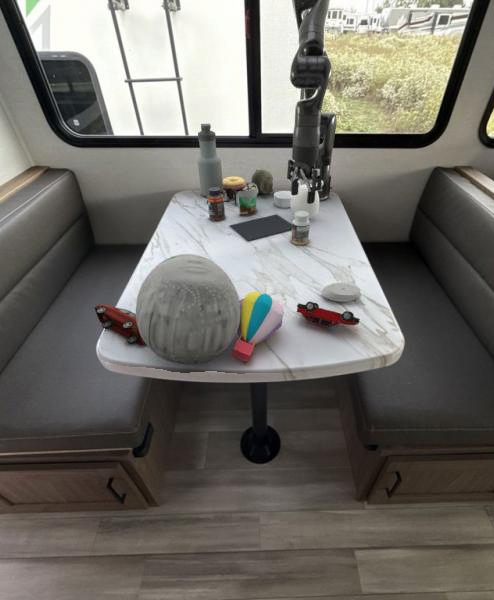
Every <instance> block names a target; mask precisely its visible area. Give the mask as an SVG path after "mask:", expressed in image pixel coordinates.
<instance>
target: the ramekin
mask: <svg viewBox="0 0 494 600" xmlns="http://www.w3.org/2000/svg"><path fill="white" fill-rule="evenodd" d="M291 198H292V195H291V190H290V191H289V190H279V191H276V192H274V193H273V199H274V205H275V206H276V207H278V208H280V209H281V208H282V209H286V208H287V209H288V208H291Z"/></svg>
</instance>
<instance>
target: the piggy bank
mask: <svg viewBox="0 0 494 600" xmlns="http://www.w3.org/2000/svg"><path fill="white" fill-rule="evenodd" d="M288 183H289V185H290V186H291V182H290V179H288ZM298 183H299V185H298V194H297V195H294V196H293V195H292V198H291V207H290V209H291V213H292V215H295V212H297V211H306V212H308V213H309V218H308V220H309V219H313V218H314V217H315V216H317V214H318V213H319V210H320V201H319V195H318V192H317V191H316V192H315V201H314V203H311V204H308V203H307V195H308V188H307V185H305V183H303V184H301V183H302V182H301V180H299V181H298ZM317 183H318V182H317ZM317 183H316V186H317ZM322 186H323V181H321V188H322ZM311 187H312V185H311Z"/></svg>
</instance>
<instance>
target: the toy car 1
mask: <svg viewBox="0 0 494 600" xmlns="http://www.w3.org/2000/svg"><path fill="white" fill-rule="evenodd" d="M94 310H95V314H96V316H97V319H98V320H99V323H100V324H101V327H102V329H104V330H108V329H110V330H112V331H113V332H115V333H116V334H118V335H120V336H122V337H123V338H124V339H126V342H127V344H128V345H134V344H137V345H140V346H143V345H145V344H146V343H145V342H144V340H143V338H142V336H141V335H140V332H139V329H138V326H137V321H136V313H134V312H133V311H130V310H129V309H125V308H120V307H116V306H111V305H109V304H97V305H96V306H94Z"/></svg>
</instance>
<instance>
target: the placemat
mask: <svg viewBox="0 0 494 600" xmlns="http://www.w3.org/2000/svg"><path fill="white" fill-rule="evenodd" d="M229 227H230V228H232V229H233V230H234V231H235V232H236V233H237V234H239V235H240V236H241V237H242V238H244V239H245V240H246V241H247V242H251V241H254V240H258V239H263V238H267V237H270V236H274V235H277V234H280V233H281V234H282V233H284V232H289V231H292V223H290V222H289V221H287V220H286V219H284V218H283V217H282V216H279V215H278V214H273V215H267V216H264V217H260V218H255V219H251V220H247V221H242V222H238V223H233V224H230V225H229Z"/></svg>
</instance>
